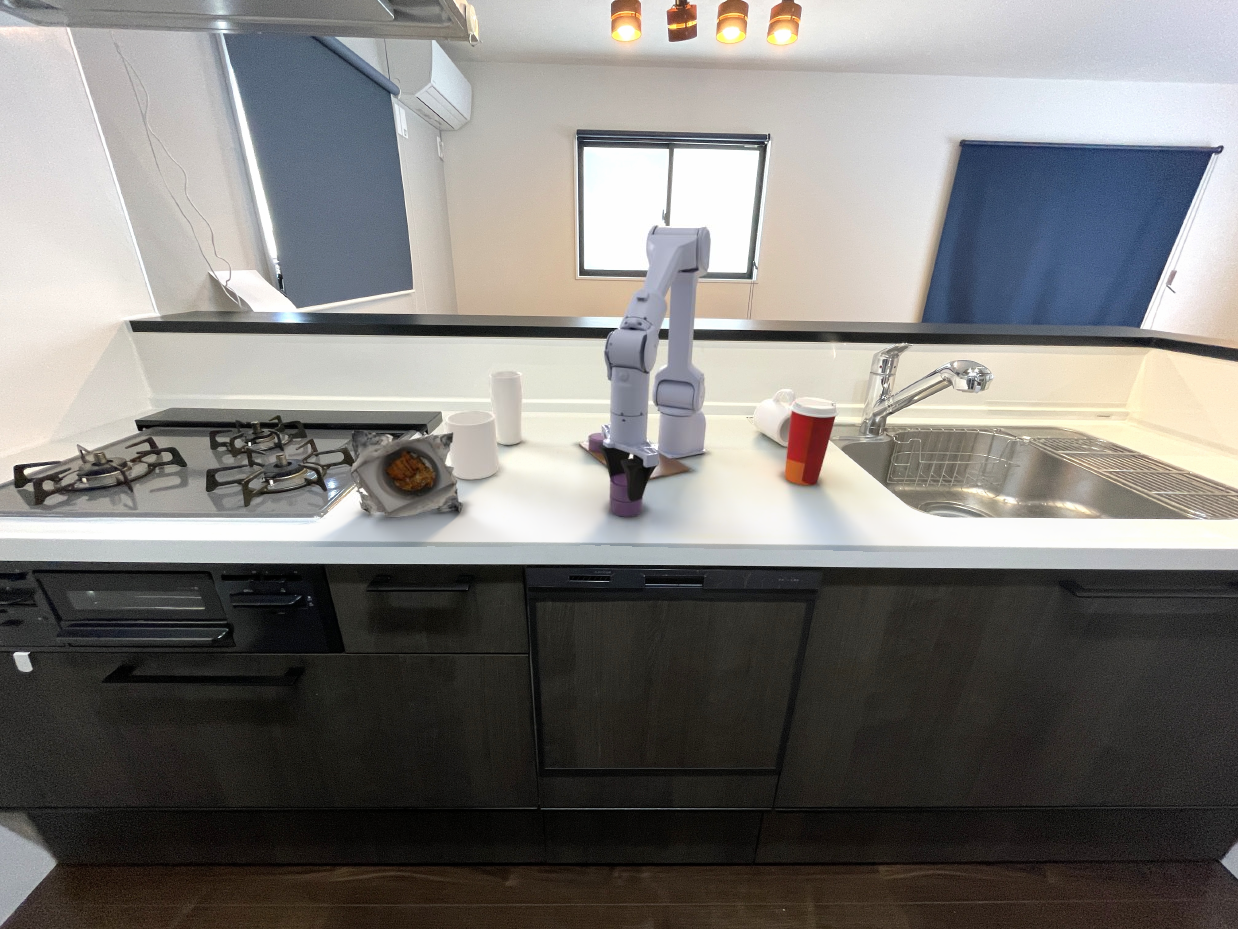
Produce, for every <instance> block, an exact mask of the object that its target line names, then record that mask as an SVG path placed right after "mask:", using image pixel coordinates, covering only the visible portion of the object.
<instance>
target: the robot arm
mask: <svg viewBox="0 0 1238 929" xmlns="http://www.w3.org/2000/svg"><path fill="white" fill-rule="evenodd" d="M710 232H711V231H710V230H709V228H708V227H707V225H701V226H687V225H686V226H684V225H683V226H682V225H681V226H680V225H679V226H678V225H673V226H672V225H671V226H670V225H666V226H665V225H661V226H660V225H658V224H654V225H652V227H651V228H650V229H649V231H648V233H647V235H646V236H647V237H646V241H645V242H646V243H645V244H646V246H645V253H646V257H647V260H648V261H647V262H648V268H647V273H646V276H645V279H644V283H643V286H642V288H641V289H638V290H636V291H635V292H634V293H633V294H632V296H631V298H630V301H629V303H628V305H627V308H626V310H625V313H624V314H623V317H622V320H621V321H620V324H619V327H618V328H616V329H614V331H611V332H609V333H608V335H607V337H606V340H605V344H604V351H603V358H604V362H605V366H606V370H607V372H606V373H607V374H606V377H607V381H610V399H609V400H610V402H609V403H610V405H609V406H610V407H609V423H607V424H602V425H601V433H602V435H601V436H602V437H604V438H607V439H605V440H603V443H601V444H599V449H600V450H601V452H602V454H603V456H604V459H605V461H606V464H607V467H606V468H607V472H608V476H609V479H610V478H611V477H612V476H614V475H616V474H621V473H625V475H626V479H627V491H628V498H629V500H630V501H635V500H639V499H642V497H644V495H645V491H646V487H647V485H648V483H649V481H650V480H649V478H650V476H651V474H652V473H653V471H654V470H655V468H656V467H657V466H658V463H659V460H658V455H659V453H661V454H662V455H664V456H666V457H667V458H669V459H672V458H674V459H676V460H677V459H681V458H684V457H685V458H686V457H690V456H695V455H700V454H706V452H707V450H706V449H705V439H706V430H707V420H706V416H705V414H704V412H703V411H702V408H703V406H704V403H705V397H706V385H705V378H706V377H705V372H703V371H702V370H701V369H699V368H698V367H697V366H696V365H694V364H693V349H694V348H693V346H694V330H695V317H696V316H695V315H696V301H697V300H696V299H697V286H698V281H699V278H701V277H703V276H706V275H708V272H709V271H708V270H709V267H710V259H711V257H710V256H711V246H712V244H711V241H712V239H711V233H710ZM669 290H670V292H669ZM668 292H669V293H670V294H669V306H668V303H667V300H666V296H667V294H668ZM668 307H669V314H668V316H669V317H668V341H667V342H668V343H667V362H666V363H667V364H665V365H663V366H662V367H660V368H659V369H658V370H657V371H656V373H655V375H654V382H653V386H652V391H651V399H652V403H653V405H654V406H655V407H656V408H657V412H659V421H658V436H657V437H658V438H657V439H658V440H657V443H654V444H653V443H652V444H651V442H650V440H649V438H648V437H647V436H648V420H649V417H648V416H649V400H650V398H649V397H650V396H649V395H650V379H651V378H650V377H651V372H652V370H653V369H654V367H655V364H656V361H657V356H658V348H659V342H660V338H659V333H660V330H661V329H662V325H663V323H664V320H665V317H666V314H667V312H668ZM655 450H656V451H658V452H659V453H657V452H656V451H655ZM630 453H631V454H633V459H632V458H630V459H629V456H630Z"/></svg>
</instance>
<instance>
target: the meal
mask: <svg viewBox="0 0 1238 929" xmlns="http://www.w3.org/2000/svg"><path fill="white" fill-rule="evenodd" d="M393 439H394V436H392V435H391V434H388V433H376V432H370V431H365V430H361V429H360V430H359V429H357V430H356V429H354V430H353V431H351V446H352V449H353V457H354V463H352V466H351V470H349V471H350V476H351V479H352V480H353V482H354V485H355V487H356V489H357V490H355V492H356V493H357V494H359V497H360V500H359V506H360V509H361V510H363V511H365V512H367V513H368V514H376V513H382V514H384V515H385V518H386V519H387V518H401V517H410V516H415V515H420V514H422V513H423V514H424V513H426V512H430V511H437V512H441V511H449V510H452V511H456V512H459V513H461V512H462V510H463V509H462V508H463V505H464V504H463V502H461V501H459V494H458V492H459V490H458V487H457V484H458V480H457V479H456V476H455V475H454V474H453V470H454V467H451V465H450V466H449V465H447V464H446V462H447V459H448V454H449V451H450V445H451V443H452V442H453V432H452V433H448V434H447V433H441V434H434V433H431V434H427V433H425V434H424V435H421V436H419V437H417V438H411V439H397V440H393ZM354 473H356V475H357V476H358V477H359V478H358V480H357V478H356V477H355V476H354ZM361 489H362V490H364V492H365V493H366V494H365V493H364V492H363V491H361Z"/></svg>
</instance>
